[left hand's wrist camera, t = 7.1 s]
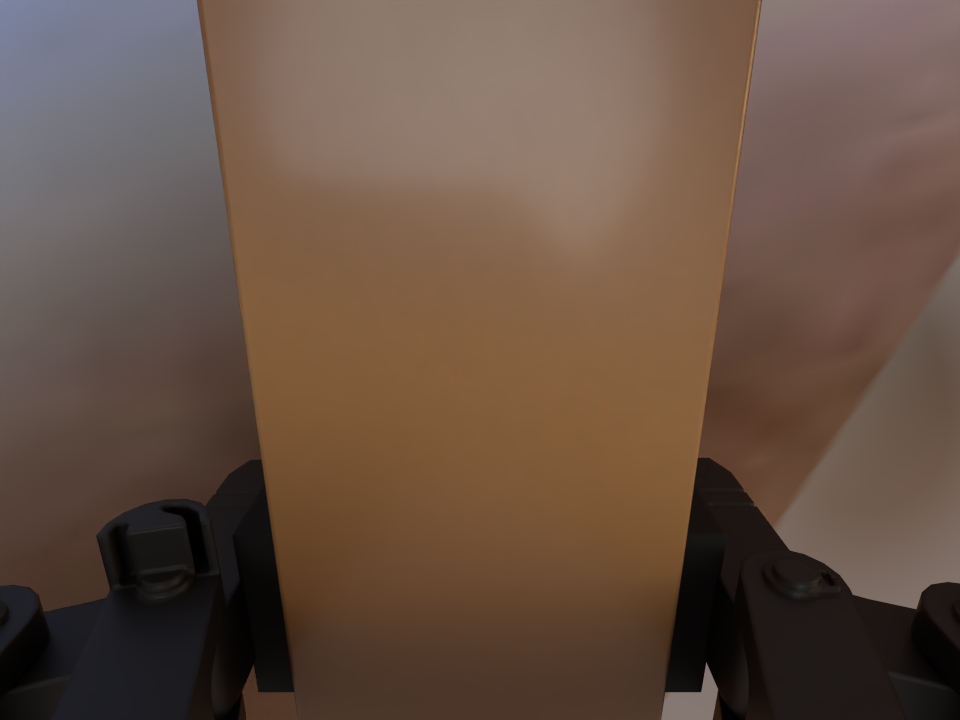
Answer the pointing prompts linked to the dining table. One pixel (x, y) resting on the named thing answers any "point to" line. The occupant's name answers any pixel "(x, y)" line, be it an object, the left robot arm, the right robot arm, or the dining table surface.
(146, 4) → the dining table surface
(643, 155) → the post
